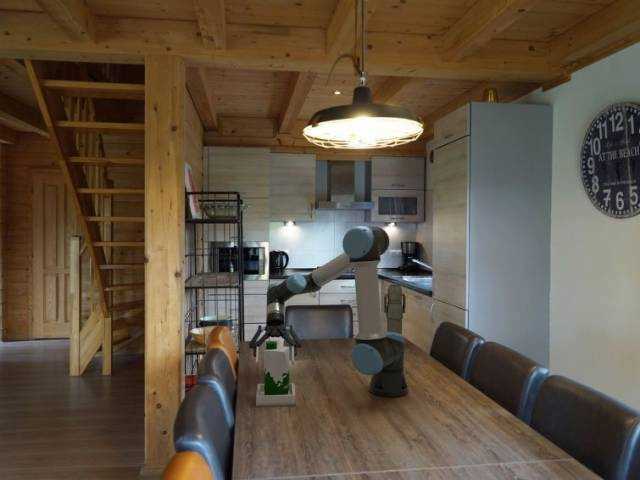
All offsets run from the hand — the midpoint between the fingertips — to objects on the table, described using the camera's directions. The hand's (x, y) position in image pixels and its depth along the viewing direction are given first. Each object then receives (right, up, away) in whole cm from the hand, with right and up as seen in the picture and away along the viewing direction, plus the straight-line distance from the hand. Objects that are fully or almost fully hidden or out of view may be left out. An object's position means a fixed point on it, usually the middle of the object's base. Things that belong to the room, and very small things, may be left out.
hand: (275, 363), depth 175 cm
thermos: (+57, -12, +71) cm, 91 cm away
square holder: (+1, -12, -3) cm, 13 cm away
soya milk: (+1, -12, -3) cm, 12 cm away
